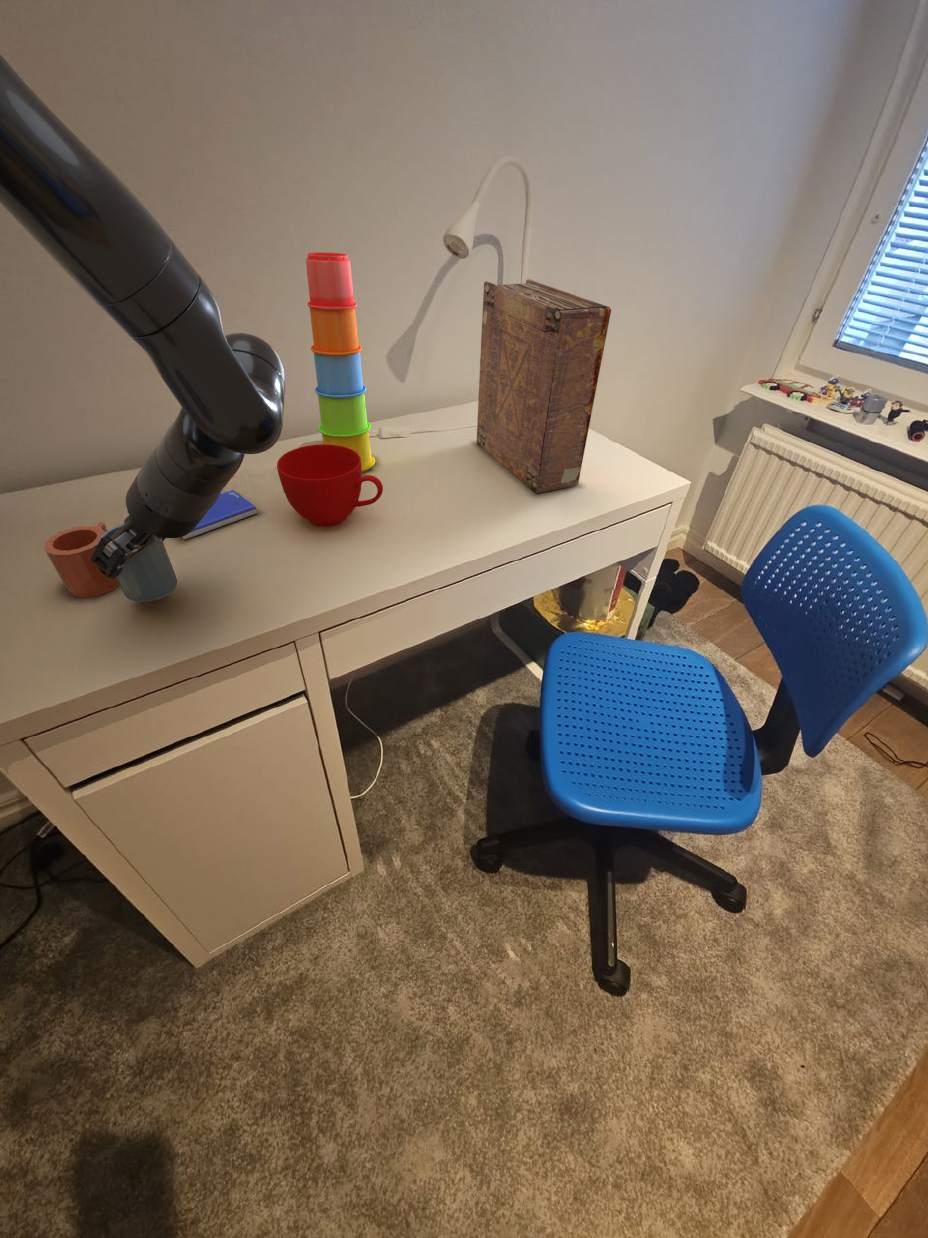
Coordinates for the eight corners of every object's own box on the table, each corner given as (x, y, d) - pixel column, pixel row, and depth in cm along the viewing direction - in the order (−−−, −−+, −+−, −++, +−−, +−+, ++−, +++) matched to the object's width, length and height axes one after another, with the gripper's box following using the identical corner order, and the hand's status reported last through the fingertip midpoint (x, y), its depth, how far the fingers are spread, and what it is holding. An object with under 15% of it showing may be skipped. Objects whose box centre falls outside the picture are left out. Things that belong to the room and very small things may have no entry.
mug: (110, 597, 73) (88, 554, 68) (57, 597, 73) (32, 554, 68) (142, 556, 81) (124, 514, 76) (94, 555, 80) (73, 514, 76)
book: (475, 442, 116) (483, 280, 97) (513, 436, 119) (527, 278, 100) (537, 494, 99) (561, 310, 79) (578, 486, 102) (611, 306, 83)
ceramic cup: (368, 548, 84) (362, 490, 77) (272, 529, 87) (259, 471, 81) (399, 509, 93) (397, 454, 87) (312, 493, 97) (303, 439, 90)
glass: (166, 602, 69) (144, 549, 64) (115, 602, 69) (89, 549, 64) (184, 573, 74) (165, 522, 69) (137, 572, 74) (114, 521, 68)
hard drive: (232, 488, 94) (160, 512, 87) (255, 505, 90) (181, 532, 83) (234, 496, 95) (163, 520, 88) (257, 514, 91) (184, 540, 84)
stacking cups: (311, 464, 106) (277, 252, 83) (351, 449, 112) (330, 247, 89) (345, 481, 101) (319, 261, 78) (386, 464, 107) (372, 255, 84)
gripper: (194, 437, 63) (146, 509, 73) (93, 491, 52) (54, 566, 62) (243, 487, 65) (190, 550, 75) (156, 548, 54) (108, 611, 65)
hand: (129, 557), depth 69 cm, fingers closed on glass, 6 cm apart
